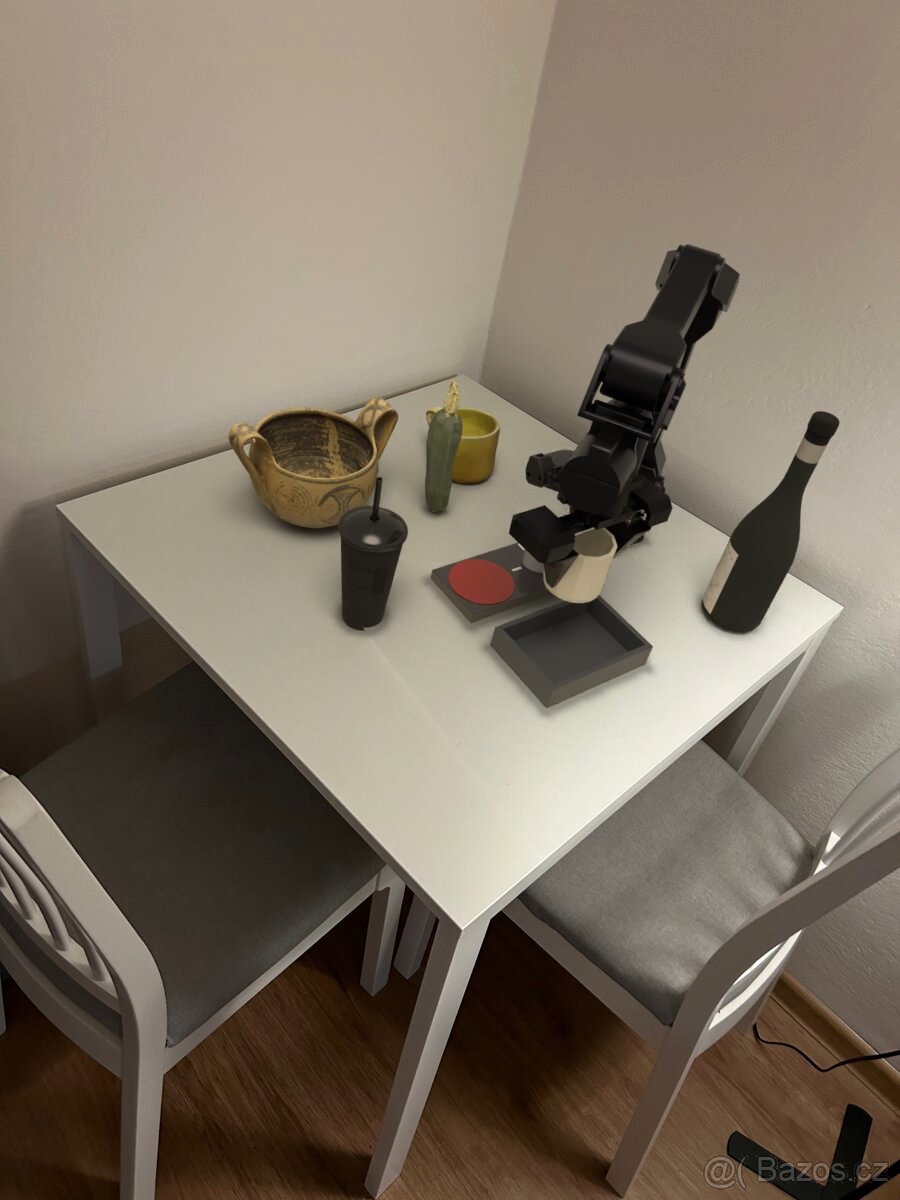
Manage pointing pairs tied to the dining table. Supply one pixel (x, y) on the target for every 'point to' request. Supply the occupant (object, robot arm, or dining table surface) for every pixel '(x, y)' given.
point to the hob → (510, 559)
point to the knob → (532, 563)
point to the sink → (570, 648)
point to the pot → (587, 567)
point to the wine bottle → (765, 541)
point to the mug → (473, 445)
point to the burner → (481, 581)
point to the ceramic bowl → (315, 460)
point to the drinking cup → (369, 560)
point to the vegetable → (442, 450)
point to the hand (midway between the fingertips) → (574, 576)
